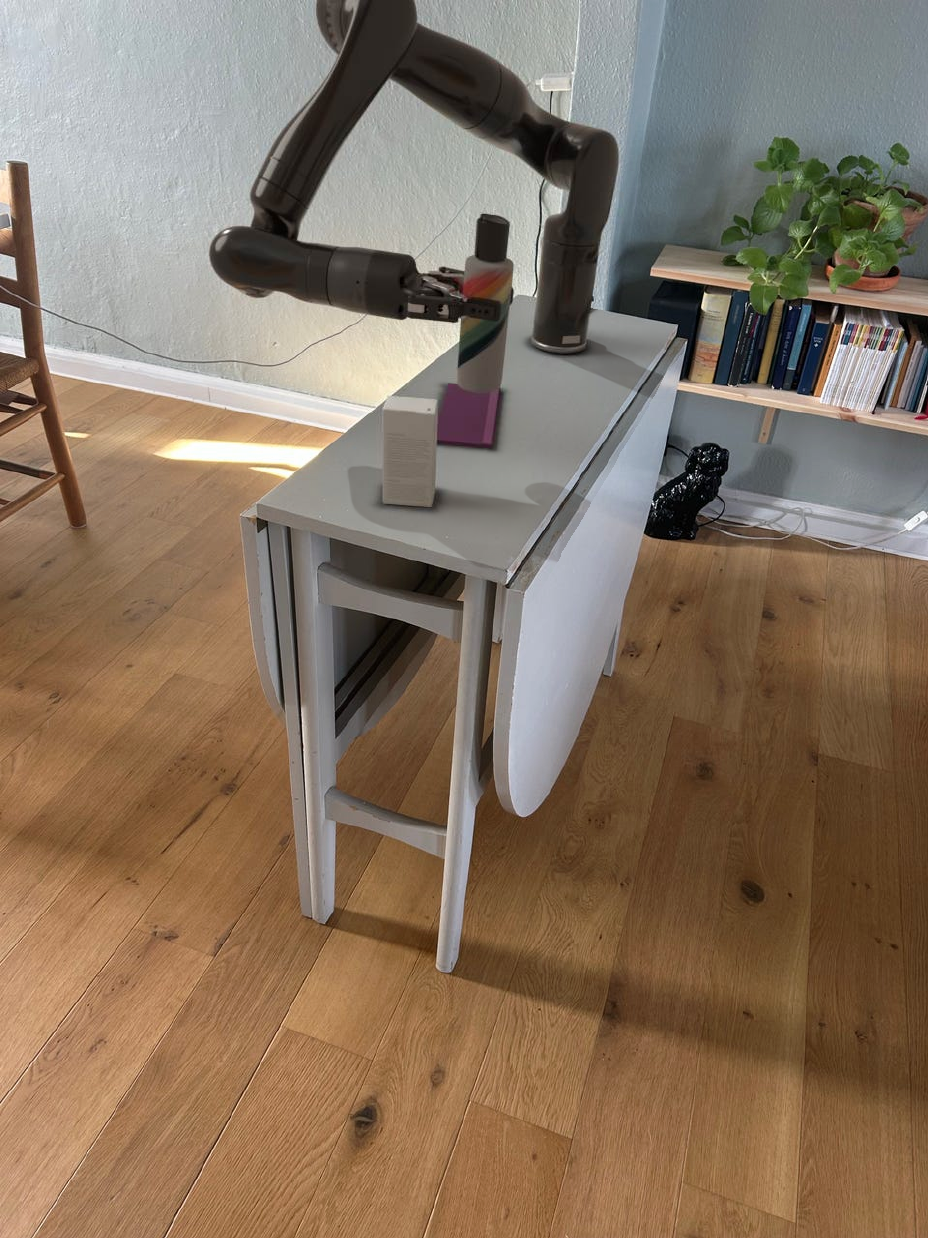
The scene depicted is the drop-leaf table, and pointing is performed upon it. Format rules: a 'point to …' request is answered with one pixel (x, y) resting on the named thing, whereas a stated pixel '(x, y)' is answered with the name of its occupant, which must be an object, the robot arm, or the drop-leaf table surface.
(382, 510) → the drop-leaf table surface
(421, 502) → the cosmetic box
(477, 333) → the lotion bottle
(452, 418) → the purple rectangular block
